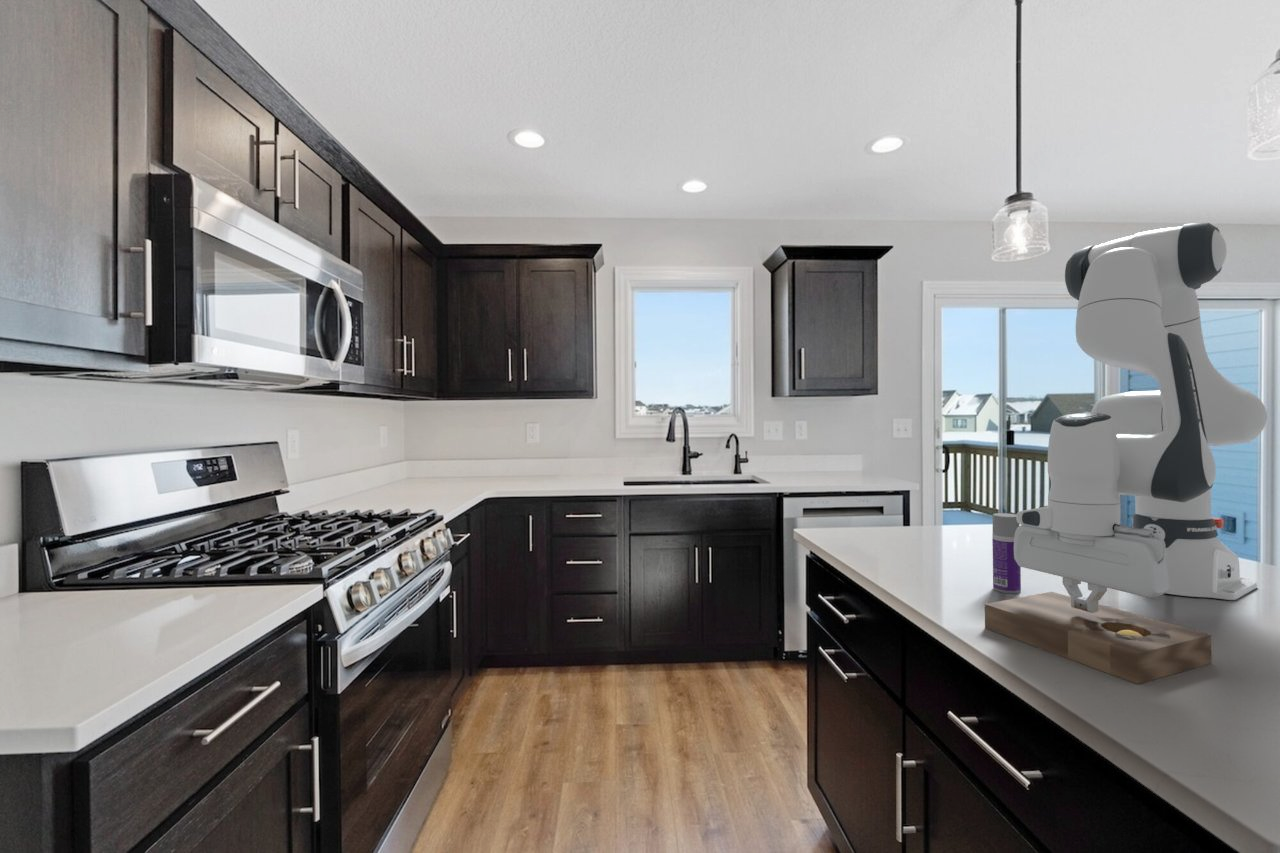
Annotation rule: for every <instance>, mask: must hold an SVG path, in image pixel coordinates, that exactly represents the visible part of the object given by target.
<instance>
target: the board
mask: <svg viewBox="0 0 1280 853" xmlns="http://www.w3.org/2000/svg"><path fill="white" fill-rule="evenodd" d="M1098 608H1099V610H1098V612H1095V613H1090V612H1087V611H1083V610H1080V609H1077V608H1073V607H1071V596H1070V595H1065V594H1061V593H1058V592H1054V591H1048V592H1043V593H1036V594H1032V595H1027V596H1021V597H1015V598H1011V599H1010V598H1009V599H1004V600H999V601H993V602H989V603H984V629H986V630H989V631H992V632H994V633H998V634H1000V635H1003V636H1005V637H1009V638H1011V639H1013V640H1017V641H1019V642H1021V643H1025V644H1028V645H1029V646H1032V647H1035V648H1039V649H1041V650H1043V651H1047V652H1049V653H1051V654H1054V655H1057V656H1059V657H1062V658H1065V659H1068V660H1070V661H1071V660H1072V661H1074V662H1076V663H1079V664H1081V665H1084V666H1087V667H1090V668H1092V669H1095V670H1098V671H1101V672H1104V673H1107V674H1109V675H1112V676H1114V677H1117V678H1119V679H1123V680H1126V681H1128V682H1130V683H1134V684H1137V685H1140V684H1143V683H1148V682H1150V681H1154V680H1158V679H1161V678H1164V677H1170V676H1172V675H1175V674H1179V673H1182V672H1186V671H1189V670H1193V669H1196V668H1200V667H1203V666H1207V665H1210V664H1213V663H1212V658H1213V657H1212V634H1209V633H1207V632H1206V633H1205V632H1202V631H1198V630H1195V629H1192V628H1189V627H1184V626H1180V625H1176V624H1174V623H1169V622H1166V621H1161V620H1158V619H1155V618H1150V617H1148V616H1143V615H1139V614H1135V613H1132V612H1128V611H1124V610H1122V609H1117V608H1114V607H1110V606H1106V605H1102V604H1099V603H1098ZM1121 630H1132V631H1135V632H1138V633H1139V634H1141V635H1142V636H1129V635H1124V634H1118V633H1117V632H1119V631H1121Z"/></svg>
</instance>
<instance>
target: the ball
mask: <svg viewBox="0 0 1280 853" xmlns="http://www.w3.org/2000/svg"><path fill="white" fill-rule="evenodd" d="M1117 633H1118V634H1124V635H1129V636H1142V635H1141V634H1139V633H1138V632H1135V631H1132V630H1121V631H1119V632H1117Z"/></svg>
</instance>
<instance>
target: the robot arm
mask: <svg viewBox="0 0 1280 853" xmlns="http://www.w3.org/2000/svg"><path fill="white" fill-rule="evenodd" d="M1226 256H1227V243H1226V240H1225V239H1224V236H1223V235H1222V234H1221V231H1220V229H1219V228H1218V227H1216V226H1215V225H1213V224H1211V223H1210V222H1191V223H1185V224H1183V225H1182V226H1174V227H1166V228H1159V229H1153V230H1147V231H1142V232H1136V233H1135V234H1134V235H1130V236H1125V237H1121V238H1118V239H1113V240H1110V241H1107V242H1105V243H1101V244H1099V245H1098V244H1097V245H1095V244H1093V245H1089V246H1086V247H1084V248H1082V249H1079V250H1077V251H1075V252H1074V253H1073V254H1072V255H1071V257H1070V258H1069V259H1068V260H1067V262H1066V264H1065V270H1064V282H1065V283H1064V284H1065V286H1066V290H1067V292H1068V293H1069V295H1070V296H1071V297H1072V298H1073V299H1075V300H1077V301H1078V302H1077V308H1076V310H1077V311H1076V318H1075V339H1076V342H1077V345H1078V346H1079V348H1080V349H1081V351H1083V352H1084V353H1085V354H1086V355H1087V356H1088V357H1091V358H1092V359H1093V360H1096V361H1097V362H1099V363H1102V364H1104V365H1108V366H1110V367H1115V368H1118V369H1123V370H1128V371H1132V372H1137V373H1139V374H1143V375H1145V376H1149V377H1151V378H1153V379H1155V380H1156V381H1157V383H1158V388H1159V389H1157V390H1141V391H1140V390H1139V391H1138V390H1136V391H1126V392H1119V393H1115V394H1110V395H1105V396H1103V397H1101V398H1100V399H1098V400H1097V401H1096V403H1095V404H1094V405H1093V407H1092V409H1091V411H1090V412H1077V413H1070V414H1069V413H1068V414H1064V415H1061V416H1058V417H1057V418H1055V419H1053V421H1052V424H1051V427H1050V432H1049V437H1048V445H1047V446H1048V448H1047V474H1048V476H1049V479H1050V488H1049V491H1048V493H1047V494H1048V495H1047V505H1041V506H1039V507H1037V508H1031V509H1026V510H1020V511H1018V512H1017V513H1016V514H1015V515H1016V519H1017V522H1018V523H1019V527H1018V528H1017V529H1016V531H1015V537H1014V559H1015V561H1016V562H1017V564H1018V565H1019V566H1020V567H1021V568H1023V569H1024V568H1025V569H1029V570H1033V571H1037V572H1041V573H1044V574H1049V575H1052V576H1057V577H1062V585H1063V587H1064V589H1065V590H1066V592H1067V594H1068V596H1070V597H1071V607H1073V608H1077V609H1080V610H1083V611H1087V612H1090V613H1095V612H1098V610H1099V608H1098V604H1099V601H1100V600H1101V599H1102V597H1103V596H1104V595H1105V594H1106V593H1107V591H1108V589H1111V590H1116V591H1120V592H1125V593H1128V594H1131V595H1132V594H1133V595H1136V596H1140V597H1144V598H1156V597H1160V596H1163V595H1164V594H1168V595H1175V596H1182V597H1192V598H1196V597H1197V598H1210V599H1211V598H1212V599H1219V600H1228V601H1236V600H1238V599H1239V598H1241V597H1243V596H1245V595H1247V594H1248V593H1250V592H1251V591H1253V590H1255V589H1256V588H1257V589H1258V583H1257V582H1256V581H1254V580H1252V579H1251V580H1250V579H1247V578H1244V577H1241V572H1240V559H1239V557H1238V555H1237V554H1236V553H1235V552H1233V551H1232V550H1231V549H1230V548H1229V547H1227V546H1226V544H1224V543H1223V542H1222V541H1221V540H1220V539H1218V538H1217V537H1218V536H1219V534H1218V529H1223V528H1224V526H1225V520H1224V518H1220V517H1212V494H1211V492H1212V487H1213V485H1214V482H1215V479H1216V472H1217V470H1216V469H1217V468H1216V461H1215V458H1214V455H1213V452H1212V449H1211V447H1223V446H1233V445H1238V444H1239V445H1240V444H1246V443H1251V441H1253V440H1255V439H1256V438H1258V436H1259V435H1260V434H1261V433H1262V432H1263V430H1264V429H1265V427H1266V423H1267V418H1268V414H1267V409H1266V407H1265V405H1264V402H1263V401H1261V399H1260V398H1259V397H1258V396H1257V395H1256V394H1254V393H1253V392H1251V391H1249V390H1247V389H1245V388H1242V387H1239V386H1238V385H1237V384H1235V383H1233V382H1231V380H1228V379H1226V377H1224V376H1223V375H1222V373H1220V372H1219V371H1218V369H1217V368H1215V367H1214V365H1213V363H1212V362H1211V360H1210V358H1209V356H1208V353H1207V351H1206V344H1205V341H1204V336H1203V331H1202V321H1201V313H1200V312H1201V311H1200V306H1199V299H1198V295H1197V292H1196V290H1199V289H1200V288H1201V286H1202V285H1204V284H1206V283H1209V282H1210V281H1212V280H1213V279H1215V277H1216V276H1218V274H1220V273H1221V271H1222V268H1223V264H1224V263H1225V261H1226ZM1120 495H1122V496H1134V506H1135V512H1134V513H1133V514H1132V518H1131V523H1132V526H1130V525H1123V524H1122V519H1121V518H1122V515H1121V513H1122V512H1121V511H1122V510H1121V503H1122V502H1121V497H1120ZM1082 583H1087V590H1088V591H1091V592H1090V593H1089V595H1088V596H1084V595H1083V593H1082V591H1081V589H1080V588H1079V585H1081V584H1082Z"/></svg>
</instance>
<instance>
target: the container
mask: <svg viewBox="0 0 1280 853" xmlns="http://www.w3.org/2000/svg"><path fill="white" fill-rule="evenodd" d="M1016 515H1017V514H1016V513H1008V512H1007V513H1006V512H1000V513H999V512H998V513H996V512H995V513H992V537H991V538H992V589H993V590H994V591H995V592H996V591H997V592H999V593H1004V594H1014V595H1015V594H1020V593H1021V592H1022V586H1021V585H1022V584H1021V583H1022V574H1021V573H1022V572H1021V571H1022V570H1021V568H1022V567H1020V566H1019V565H1018V564H1017V562H1016V561H1015V559H1014V537H1015V531H1016V529H1017V528H1018V527H1019V526H1020V524H1019V523H1018V522H1017V519H1016Z"/></svg>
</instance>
